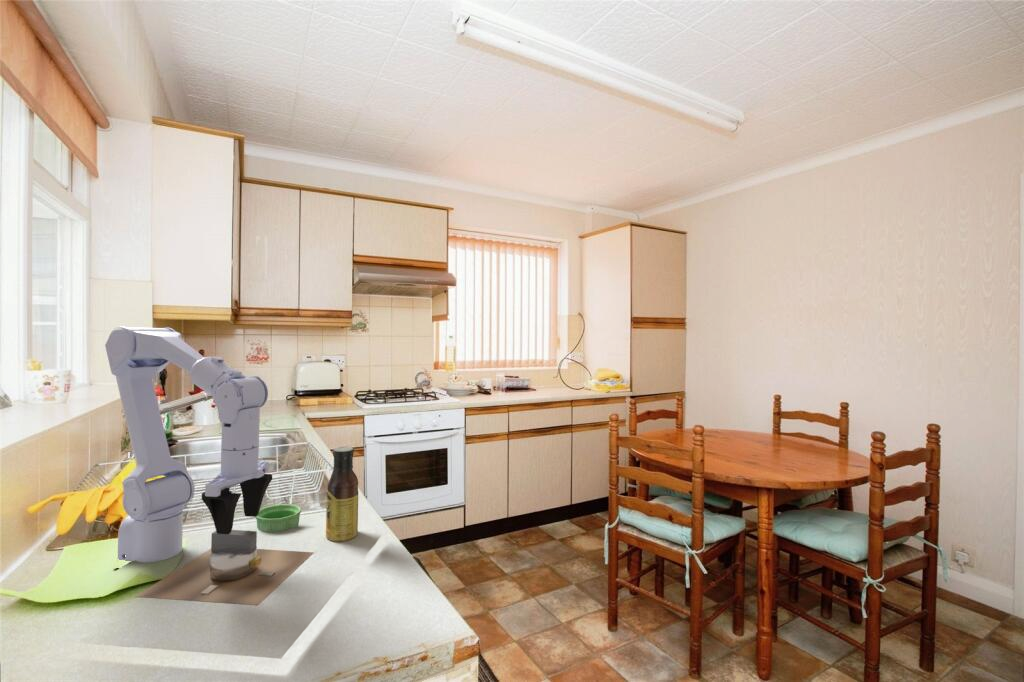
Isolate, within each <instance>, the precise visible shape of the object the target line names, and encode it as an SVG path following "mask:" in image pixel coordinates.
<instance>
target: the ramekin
mask: <svg viewBox="0 0 1024 682" xmlns="http://www.w3.org/2000/svg"><path fill="white" fill-rule="evenodd" d="M301 513H302V508H301V507H300V506H298V505H295V504H289V503H288V504H287V503H285V504H284V503H283V504H274V505H269V506H266V507H263V508H260V510H259V513H258V516H256V517H255V520H256V528H257V530H259V531H262V532H267V533H270V532H271V533H272V532H273V533H274V532H282V531H286V530H289V529H293V528H299V525H300V517H301V516H300V515H301Z"/></svg>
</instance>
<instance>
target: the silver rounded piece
mask: <svg viewBox="0 0 1024 682" xmlns="http://www.w3.org/2000/svg"><path fill="white" fill-rule="evenodd" d="M257 535H258V532H257V531H256V530H241V529H240V530H239V529H232V531H231V533H230V534H217V532H216V530H215V531H213V532H212V533H211V541H210V542H211V544H210V545H211V546H210V549H211V554H210V577H211V578H212V579H214V580H217V581H228V580H234V579H238V578H242V577H244V576H247V575H249V574H250V573H252V572H253V571H254V570H255V569H256V567H257V566H259V565H260V564H261V557H260V556H257V549H258V547H257V542H258V541H257V539H258V538H257V537H258V536H257Z"/></svg>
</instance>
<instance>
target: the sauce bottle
mask: <svg viewBox="0 0 1024 682" xmlns="http://www.w3.org/2000/svg"><path fill="white" fill-rule="evenodd" d="M354 452H355V449H354V447H352V446H349V445H348V446H338V447H337V446H336V447H335V448H333V450H332V456H333V467H332V469H333V470H332V472H331V474H330V478H329V481H328V484H327V486H326V505H325V507H326V510H325V515H326V516H325V517H326V518H325V537H326V539H327V540H328V541H331V542H335V543H336V542H337V543H338V542H339V543H340V542H346V541H349V540H352V539H354V538H356V536H357V535H358V530H359V528H358V526H359V479H358V476H357V475H356V473H355V472H354V470H353V468H354V465H353V463H354V462H353V461H354V459H353V458H354V454H355V453H354Z"/></svg>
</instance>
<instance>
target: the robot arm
mask: <svg viewBox="0 0 1024 682" xmlns="http://www.w3.org/2000/svg"><path fill="white" fill-rule="evenodd" d="M104 346H105V351H106V355H107V359H108V363H109V368H110V371H111V372H110V373H111V375H113V376H115V378H116V379H115V380H116V383H117V388H118V392H119V397H120V401H121V405H122V409H123V413H124V418H125V423H126V427H127V430H128V434H129V435H128V436H129V441H130V444H131V449H132V452H133V453H132V454H133V456H134V462H135V465H136V467H135V468H134V469H133V470H132V471H131V472H130V473H129V474H128V475H127V476H125V478H124V479H123V481H122V489H123V495H122V508H123V510H124V512H125V513H126V515H127V516H126V517H125V518H123V520H122V521H121V524H120V525H119V528H118V533H117V560H118V559H119V560H125V561H133V562H138V563H155V562H160V561H164V560H167V559H170V558H173V557H175V556H177V555H179V554H180V553H181V552H182V550H183V527H184V526H183V524H184V522H183V521H184V517H183V516H184V511H185V510H186V509H187V508H188V503H190V502H191V501H192V499H193V498H194V495H195V490H196V489H195V487H196V485H195V483H194V480H193V478H192V477H191V476H190V473H189V472H188V469H187V465H186V464H185V463H183V462H181V461H180V460H177V459H175V458H173V457H172V456H171V452H170V447H169V443H168V440H167V436H166V432H165V427H164V423H163V419H162V415H161V410H160V406H159V402H158V399H157V393H156V390H155V385H154V381H153V379H154V377H155V376H156V375H157V374H159V373H160V372H163V370H164V369H166V367H167V366H168V365H169V364H171V363H172V364H173V365H175V366H177V367H179V368H181V369H182V370H184V371H186V372H187V373H189V379H190V381H191V383H192V384H193V385H195V386H196V387H198V388H200V389H201V390H203V391H204V392H205V393H207V394H208V395H210V397H212V398H213V402H214V405H215V407H216V409H217V411H218V419H219V422H220V423H221V443H220V444H221V446H220V449H221V451H220V472H219V473H218V474H217V475H216V476H215V477H214V478H213V479H212V480H211V481H210V482H208V483H206V484H205V486H204V488H205V489H204V492H201V500H202V501H203V503H204V504H205V506H206V507H207V508H208V510H209V513H210V514H211V517H212V521H213V525H214V528H215V531H216V532H217V534H230V533H231V531H232V530H233V526H234V525H233V524H234V518H235V512H236V507H237V504H238V503H239V500H240V497H241V496H242V502H243V514H244V516H245V517H253V518H256V516H258V513H259V510H261V506H262V503H263V499H264V496H265V493H266V491H267V489H268V487H269V486H270V484H271V482H272V480H273V474H271V473H270V474H269V467H270V466H269V461H268V460H259V454H260V453H259V452H260V451H259V450H260V448H259V447H260V417H261V411H260V410H261V408H262V407H264V406H265V404H266V402H267V401H268V398H269V389H268V386H267V383H266V382H265V381H264V380H263V379H262V378H261V377H260V376H258V375H253V376H247V375H244V374H243V372H242V371H240V369H235V368H233V367H232V366H230V365H229V364H227V363H225V362H224V361H225V359H224V358H223V357H222V356H206V357H204V356H203V355H202V354H201V353H199V352H198V351H197V350H195V349H194V348H193V347H192V346H190V345H189V344H188V343H187V342H185V341H184V340H183V337H182V334H181V333H180V332H178V331H176V330H175V329H173V328H171V327H131V326H130V327H127V326H117V327H115V328H113V330H112V331H111V332H110V334H109V336H108V339H107V340H106V343H105V345H104ZM161 476H162V477H161ZM156 477H159V478H156ZM152 478H153V479H152ZM154 478H156V479H154ZM149 479H150V480H149ZM237 485H240V489H241V493H239V492H237V493H236V492H232V490H230V489H231V488H234V487H235V486H237ZM125 555H126V557H125Z"/></svg>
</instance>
